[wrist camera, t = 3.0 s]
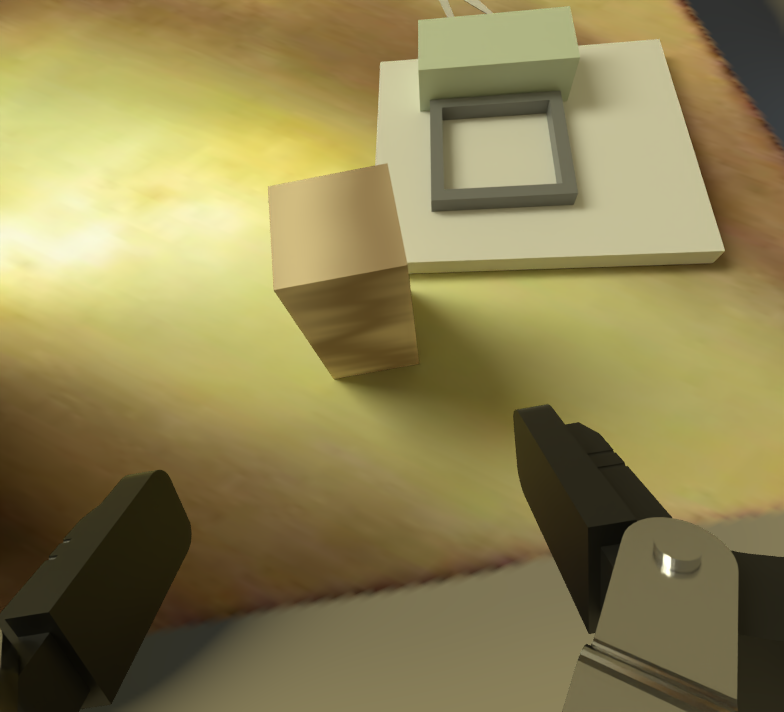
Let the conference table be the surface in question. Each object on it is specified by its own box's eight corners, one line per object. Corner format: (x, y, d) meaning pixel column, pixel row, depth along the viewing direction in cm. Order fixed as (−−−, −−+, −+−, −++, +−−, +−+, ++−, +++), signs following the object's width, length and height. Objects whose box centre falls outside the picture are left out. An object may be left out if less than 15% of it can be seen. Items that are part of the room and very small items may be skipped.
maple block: (333, 379, 25) (273, 289, 16) (325, 304, 27) (268, 186, 18) (419, 363, 25) (407, 265, 16) (405, 289, 27) (387, 163, 18)
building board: (373, 274, 28) (368, 254, 26) (382, 77, 35) (378, 48, 33) (712, 263, 26) (736, 239, 24) (651, 55, 33) (666, 24, 31)
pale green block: (420, 111, 31) (418, 70, 28) (420, 63, 33) (418, 20, 30) (567, 101, 30) (580, 57, 27) (558, 52, 32) (570, 6, 29)
